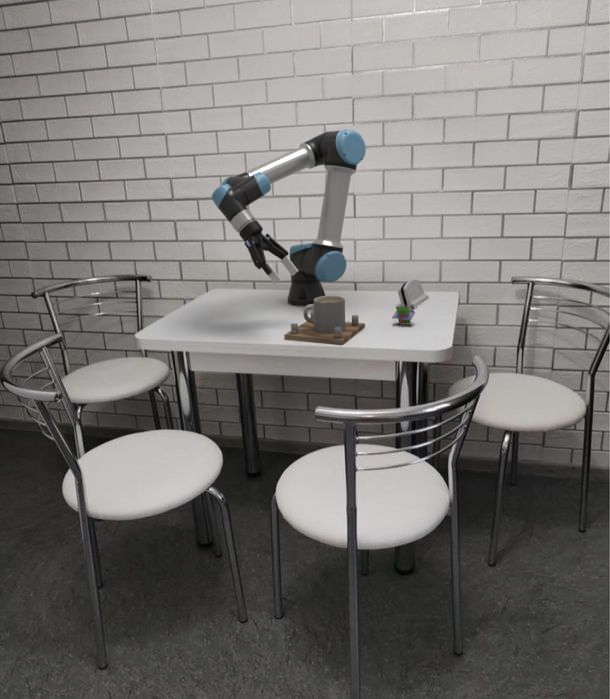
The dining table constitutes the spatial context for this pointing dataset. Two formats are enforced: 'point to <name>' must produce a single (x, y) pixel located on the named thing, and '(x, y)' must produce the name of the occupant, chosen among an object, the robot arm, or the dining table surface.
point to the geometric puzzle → (404, 314)
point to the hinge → (412, 293)
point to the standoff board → (338, 337)
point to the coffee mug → (327, 313)
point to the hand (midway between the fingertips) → (286, 277)
